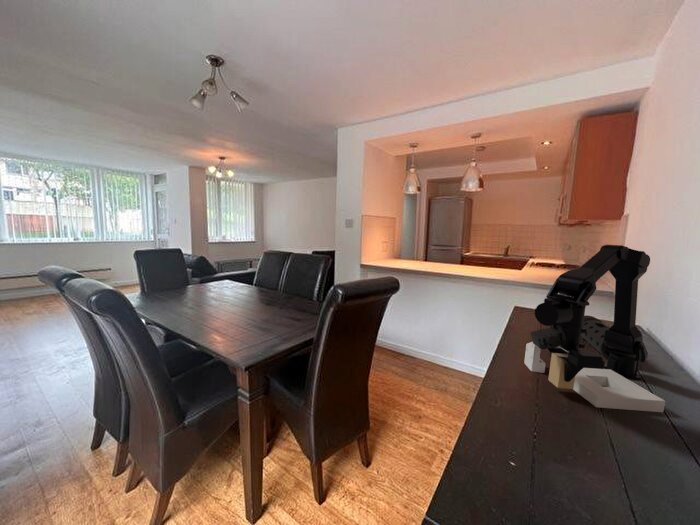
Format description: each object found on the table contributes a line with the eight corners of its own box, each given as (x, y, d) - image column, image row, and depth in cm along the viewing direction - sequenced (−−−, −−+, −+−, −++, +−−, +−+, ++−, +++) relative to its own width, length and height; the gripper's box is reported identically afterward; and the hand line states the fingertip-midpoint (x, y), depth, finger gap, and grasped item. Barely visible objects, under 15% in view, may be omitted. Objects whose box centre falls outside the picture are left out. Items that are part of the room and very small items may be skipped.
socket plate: (609, 378, 86) (610, 369, 86) (663, 412, 70) (665, 401, 70) (554, 374, 87) (555, 365, 87) (596, 407, 71) (597, 396, 71)
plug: (563, 381, 79) (566, 353, 78) (573, 389, 75) (577, 360, 74) (548, 379, 79) (551, 352, 78) (557, 387, 75) (561, 359, 74)
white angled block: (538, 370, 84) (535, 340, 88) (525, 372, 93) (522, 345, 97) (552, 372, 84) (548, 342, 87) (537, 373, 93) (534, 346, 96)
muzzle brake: (597, 362, 98) (601, 333, 97) (569, 335, 124) (573, 312, 123) (632, 368, 95) (638, 338, 93) (596, 339, 120) (600, 315, 119)
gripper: (519, 310, 85) (513, 359, 87) (561, 332, 66) (553, 394, 68) (557, 312, 84) (551, 362, 86) (611, 335, 66) (601, 398, 68)
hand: (561, 377), depth 77 cm, fingers closed on plug, 4 cm apart
